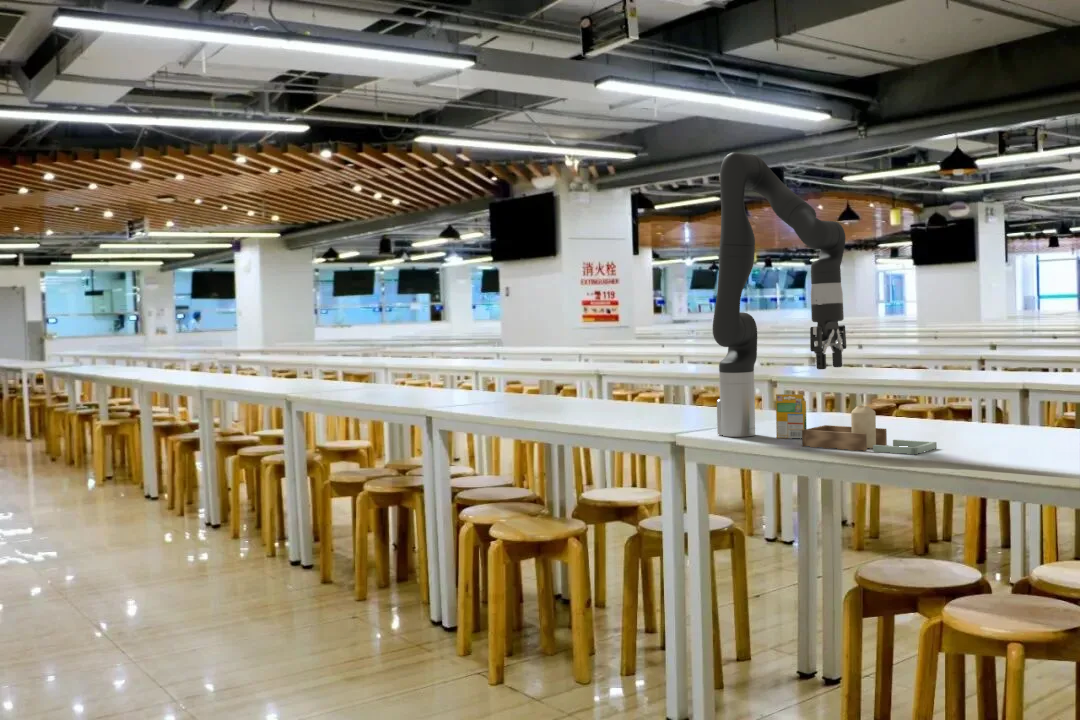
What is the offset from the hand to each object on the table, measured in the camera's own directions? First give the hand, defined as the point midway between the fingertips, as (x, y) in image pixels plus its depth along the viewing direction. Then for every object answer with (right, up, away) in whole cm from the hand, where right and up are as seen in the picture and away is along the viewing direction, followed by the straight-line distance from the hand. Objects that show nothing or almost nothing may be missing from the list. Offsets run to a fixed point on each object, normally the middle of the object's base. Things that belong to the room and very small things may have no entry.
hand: (829, 368), depth 237 cm
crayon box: (-5, -19, +15) cm, 25 cm away
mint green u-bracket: (+14, -19, -12) cm, 27 cm away
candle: (+7, -19, -6) cm, 21 cm away
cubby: (+3, -19, -2) cm, 19 cm away
